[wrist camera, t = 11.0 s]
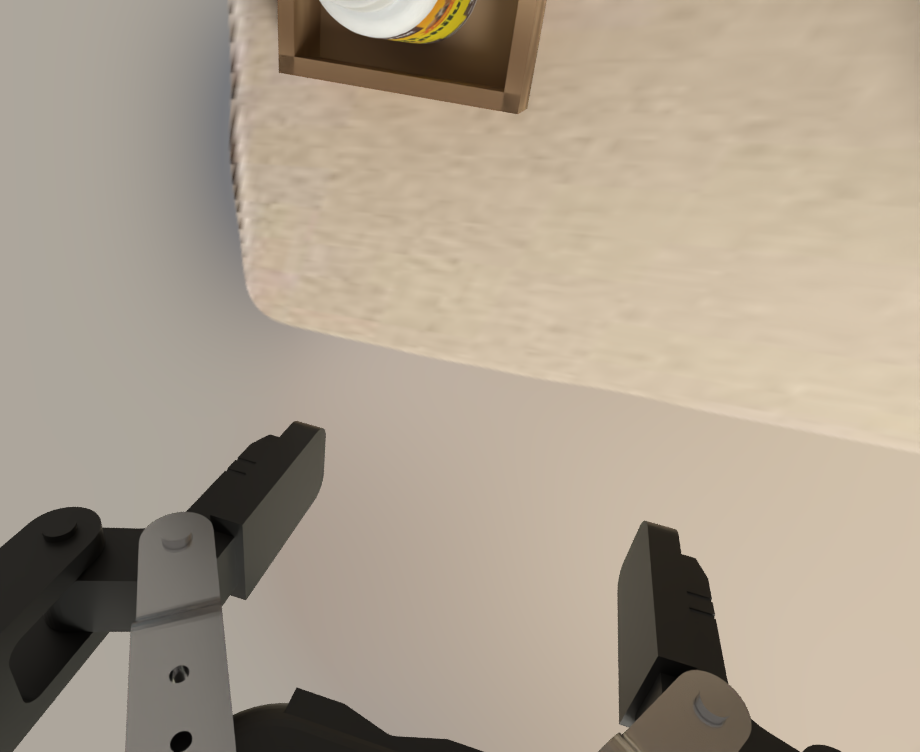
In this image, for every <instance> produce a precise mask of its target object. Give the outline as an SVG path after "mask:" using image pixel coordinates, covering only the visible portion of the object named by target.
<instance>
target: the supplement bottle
mask: <svg viewBox="0 0 920 752" xmlns="http://www.w3.org/2000/svg"><path fill="white" fill-rule="evenodd" d="M319 1H320V2H321V4H322V5H323V7H324V8H325V9H326V10H327V12H328V13H329V14H330V15H331V16H332V17H333V18H334V19H335V20H336V21H338V22H339V23H340V24H341V25H343V26H344V27H346V28H347V29H349V30H351V31H353V32H355V33H358V34H360V35H364V36H367V37H372V38H376V39H387V40H394V41H400V42H408V43H416V44H430V43H436V42H439V41H442V40H444V39H446V38H448V37H450V36H452V35H453V34H454V33H455V32H457V31H458V30H459V29H460V28H461V27H462V26H463V25H464V23H465V22H466V21H467V19H468V18H469V16H470V15H471V13H472V11H473V9H474V6H475V4H476V1H477V0H319Z"/></svg>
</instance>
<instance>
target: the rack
mask: <svg viewBox="0 0 920 752" xmlns="http://www.w3.org/2000/svg"><path fill="white" fill-rule="evenodd" d="M546 1H547V0H477V1H476V4H475V6H474V9H473V11H472V13H471V15H470V16H469V18H468V19H467V21H466V22H465V23H464V25H463V26H462V27H461V28H460V29H459V30H458V31H457V32H455V33H454V34H453V35H452V36H450V37H448V38H446V39H444V40H442V41H439V42H436V43H430V44H416V43H408V42H400V41H394V40H387V39H376V38H372V37H367V36H364V35H360V34H358V33H355V32H353V31H351V30H349V29H347V28H346V27H344V26H343V25H341V24H340V23H339V22H338V21H336V20H335V19H334V18H333V17H332V16H331V15H330V14H329V13H328V12H327V10H326V9H325V8H324V7H323V5H322V4H321V2H320V1H319V0H278V46H279V73H284V74H290V75H296V76H302V77H307V78H313V79H319V80H325V81H330V82H336V83H342V84H348V85H353V86H359V87H365V88H371V89H376V90H382V91H388V92H394V93H399V94H405V95H411V96H416V97H422V98H428V99H434V100H439V101H445V102H451V103H457V104H462V105H468V106H474V107H480V108H485V109H491V110H497V111H503V112H508V113H514V114H519V113H520V112H522V111H524V110H525V109H527V106H528V100H529V95H530V89H531V84H532V78H533V73H534V67H535V61H536V56H537V50H538V45H539V39H540V34H541V28H542V23H543V17H544V12H545V6H546Z"/></svg>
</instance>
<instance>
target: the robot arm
mask: <svg viewBox="0 0 920 752" xmlns="http://www.w3.org/2000/svg"><path fill="white" fill-rule="evenodd" d="M325 438H326V433H325V430H324V429H323V428H320V427H316V426H312V425H309V424H305V423H302V422H299V421H295V422H293V423H292V424H291V425H290V426H289V427H288V428H287V429H286V430H285V432H284V433H283V434H282V435H281V436H280V437H276V436H273V435H268V436H266V437H264V438H262V439H260V440H258V441H256V442H254V443H252V444H251V445H249V446H248V447H247V449H246V450H245V451H244V452H243V453H242V454H241V455H240V456H239V457H238V460H235V461H234V462H233V463H232V464H231V465H230V466H229V467H228V470H227V471H225V472H224V473H223V474H222V475H221V476H220V477H219V478H218V479H217V480H216V481H215V482H214V483H213V484H212V485H211V486H210V487H209V488H208V489H207V490H206V492H204V494H203V495H202V496H201V497H200V498H199V499H198V500H197V501H196V502H195V503H194V504H193V505H192V506H191V507H190V508H189V509H188V510H187V511H186V512H177V513H172V514H168V515H165V516H163V517H161V518H159V519H157V520H155V521H154V522H152V523H151V524H150V525H148V526H147V528H144V529H131V528H102V524H101V520H100V517H99V516H98V515H97V514H96V513H95V512H94V511H92V510H90V509H87V508H82V507H66V508H60V509H57V510H53V511H50V512H47V513H45V514H43V515H41V516H39V517H37V518H36V519H34V520H33V521H31V522H30V523H29V524H28V525H26V526H25V527H24V528H23V529H22V530H21V531H19V532H18V533H17V534H16V535H15V536H13V537H12V538H11V539H10V540H9V541H8V542H7V543H5V544H4V545H3V546H2V547H1V548H0V752H13V751H14V749H15V748H16V747H17V746H18V745H19V743H20V742H21V741H22V740H23V738H24V737H25V736H26V735H27V733H28V732H29V731H30V730H31V728H32V727H33V726H34V724H35V723H36V722H37V721H38V720H39V718H40V717H41V716H42V715H43V713H44V712H45V711H46V710H47V708H48V707H49V706H50V705H51V704H52V702H53V701H54V700H55V698H56V697H57V696H58V695H59V694H60V692H61V691H62V690H63V688H64V687H65V686H66V685H67V684H68V683H69V681H70V680H71V679H72V677H73V676H74V675H75V674H76V672H77V671H78V670H79V669H80V668H81V666H82V665H83V664H84V663H85V661H86V660H87V659H88V658H89V656H90V655H91V654H92V653H93V652H94V650H95V649H96V648H97V646H98V645H99V644H100V642H102V640H103V639H104V638H105V637H106V635H107V634H108V633H109V632H131V633H130V655H129V676H128V700H127V722H126V723H127V724H126V746H125V747H126V748H125V752H483V751H480V750H477V749H474V748H471V747H468V746H466V745H463V744H460V743H457V742H454V741H451V740H448V739H433V738H416V737H397V736H392V735H389V734H387V733H385V732H384V731H383V730H381V729H380V728H378V727H377V726H375V725H374V724H372V723H371V722H370V721H368V720H367V719H365V718H364V717H362V716H361V715H360V714H358V713H357V712H355V711H354V710H352V709H351V708H350V707H348V706H347V705H345V704H343V703H340V702H337V701H334V700H331V699H329V698H326V697H323V696H320V695H316V694H314V693H311V692H308V691H305V690H302V689H299V688H296V690H295V692H294V694H293V696H292V698H291V700H290V702H289V703H278V704H267V705H263V706H257V707H253V708H250V709H247V710H244V711H241V712H239V713H237V714H234V715H233V714H232V704H231V695H230V684H229V674H228V664H227V655H226V644H225V635H224V625H223V615H222V606H223V604H224V603H225V601H226V600H227V599H228V597H229V596H230V595H231V596H235V597H238V598H241V599H244V600H246V599H247V598H248V596H249V595H250V594H251V592H252V591H253V589H254V588H255V586H256V585H257V583H258V582H259V580H260V579H261V577H262V576H263V575H264V573H265V572H266V570H267V569H268V567H269V566H270V564H271V563H272V561H273V560H274V558H275V557H276V556H277V554H278V552H279V551H280V550H281V548H282V547H283V545H284V544H285V542H286V541H287V540H288V538H289V537H290V535H291V534H292V532H293V531H294V529H295V528H296V526H297V525H298V523H299V522H300V520H301V519H302V518H303V516H304V515H305V513H306V512H307V510H308V509H309V507H310V506H311V504H312V503H313V502H314V500H315V498H316V497H317V495H318V493H319V490H320V487H321V485H322V481H323V475H324V457H325ZM711 599H712V597H711V592H710V587H709V581H708V578H707V576H706V575H705V573H704V571H703V570H702V568H701V566H700V565H699V563H698V562H697V560H696V559H695V558H693V557H689V556H686V555H682V554H681V549H680V542H679V535H678V532H677V530H675V529H672V528H669V527H665V526H661V525H658V524H655V523H651V522H647V521H643V522H642V524H641V525H640V528H639V529H638V532H637V534H636V536H635V538H634V540H633V543H632V545H631V547H630V549H629V552H628V554H627V556H626V558H625V560H624V563H623V565H622V568H621V571H620V575H619V581H618V663H619V664H618V667H619V724H620V725H623V726H626V727H629V729H628V730H626V731H625V732H624V733H623V734H622V735H621V734H620V733H618V734H616V735H615V736H614V737H613V738H612V739H610V740H609V741H608V742H607V743H606V744H605V745H604V746H603V747H602V748H601V749H600V750H599V752H799V751H798V750H796V749H795V748H793V747H791V746H790V745H788V744H787V743H785V742H783V741H782V740H780V739H778V738H777V737H775V736H774V735H772V734H770V733H769V732H767V731H766V730H765V729H763V728H762V727H760V726H759V725H758V724H757V723H755V722H754V721H753V720H752V719H751V718H750V714H749V711H748V709H747V707H746V705H745V703H744V702H743V700H742V699H741V697H740V696H739V695H738V693H737V692H736V691H735V690H734V689H733V688H732V687H731V686H730V685H729V684H728V681H727V676H726V671H725V666H724V660H723V655H722V650H721V645H720V639H719V634H718V629H717V623H716V619H714V616H715V613H714V608H713V603H712V602H711ZM803 752H841V751H839V750H837V749H835V748H832V747H829V746H825V745H812V746H809V747H807V748H806V749H805V750H804V751H803Z"/></svg>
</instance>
